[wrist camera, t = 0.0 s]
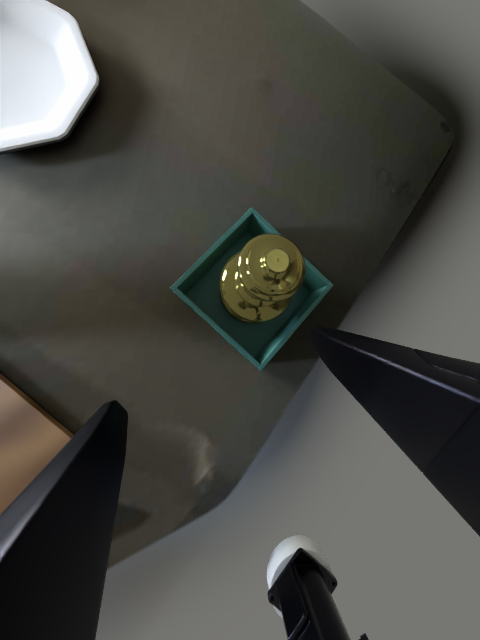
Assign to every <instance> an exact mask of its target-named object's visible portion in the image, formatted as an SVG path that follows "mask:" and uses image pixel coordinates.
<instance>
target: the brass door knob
mask: <svg viewBox="0 0 480 640" xmlns="http://www.w3.org/2000/svg"><path fill="white" fill-rule="evenodd" d="M305 272H306V266H305V260H304V257H303V255H302V253H301V251H300V249H299V248H298V247H297V245H296V244H295V243H294V242H292V241H291V240H290V239H288V238H286V237H284V236H282V235H279V234H272V233H267V234H261V235H258V236H256V237H254V238H252V239H251V240H250V241H249V242H247V243H246V245H245V246H244V247H243V249H242V250H241V251H240V252H238V253H237V254H235V255H234V256H232V257H231V258H230V259H229V260H228V262H227V263H226V264H225V266H224V268H223V270H222V272H221V276H220V288H219V291H220V298H221V302H222V305H223V307H224V309H225V310H226V312H227V313H228V314H229V315H230V316H231V317H233V318H234V319H236V320H237V321H240V322H243V323H248V324H257V323H263V322H267V321H270V320H273V319H275V318H277V317H278V316H280V315H281V314H282V313H283V312H284V311H285V310H286V309H287V308H288V306H289V304H290V303H291V300H292V298H293V294H295V293H296V292H297V291H298V289H299V288H300V287H301V285H302V283H303V281H304V278H305Z"/></svg>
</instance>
